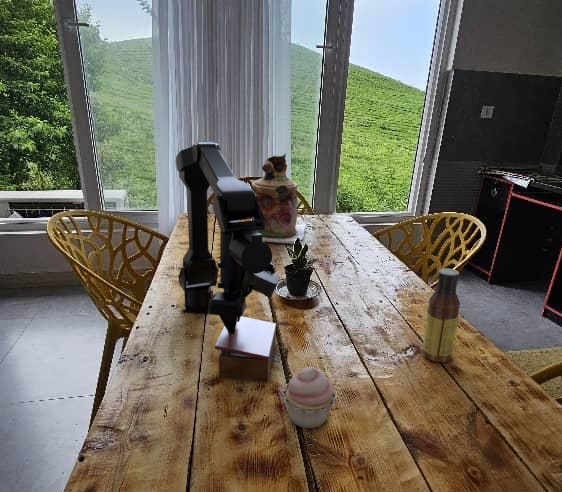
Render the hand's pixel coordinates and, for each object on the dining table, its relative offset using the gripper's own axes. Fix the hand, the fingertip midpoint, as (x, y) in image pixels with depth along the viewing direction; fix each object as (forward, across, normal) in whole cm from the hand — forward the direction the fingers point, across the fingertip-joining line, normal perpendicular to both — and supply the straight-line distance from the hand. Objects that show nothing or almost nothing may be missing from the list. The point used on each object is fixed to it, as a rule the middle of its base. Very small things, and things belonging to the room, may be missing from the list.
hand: (234, 327), depth 90 cm
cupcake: (+7, -16, -16) cm, 24 cm away
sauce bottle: (+7, +8, -43) cm, 45 cm away
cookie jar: (+8, +93, +2) cm, 93 cm away
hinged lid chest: (+8, 0, -3) cm, 8 cm away
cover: (+2, 0, -3) cm, 3 cm away
